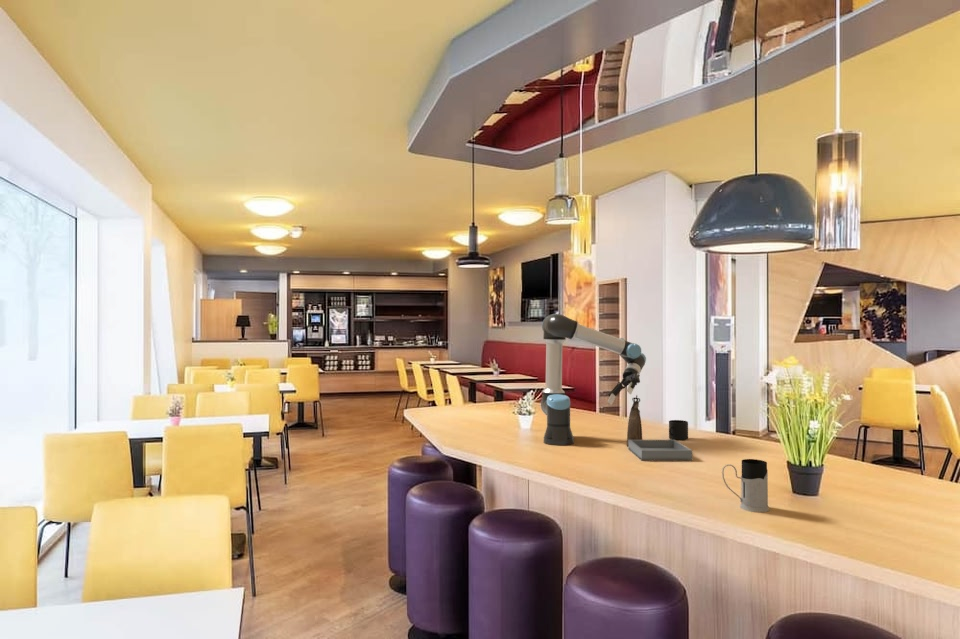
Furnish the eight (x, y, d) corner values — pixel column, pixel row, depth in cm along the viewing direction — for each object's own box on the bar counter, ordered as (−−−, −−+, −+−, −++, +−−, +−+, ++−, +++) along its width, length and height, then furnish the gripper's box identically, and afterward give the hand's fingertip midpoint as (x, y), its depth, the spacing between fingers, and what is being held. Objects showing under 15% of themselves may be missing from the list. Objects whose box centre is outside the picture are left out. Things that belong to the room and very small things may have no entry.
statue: (643, 447, 290) (640, 395, 290) (627, 447, 291) (624, 396, 292) (642, 444, 298) (639, 393, 299) (626, 444, 300) (624, 394, 301)
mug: (661, 439, 312) (661, 421, 312) (677, 436, 319) (676, 419, 319) (676, 441, 304) (676, 424, 305) (692, 439, 311) (691, 421, 311)
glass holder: (773, 512, 190) (772, 465, 190) (725, 510, 193) (725, 463, 193) (764, 504, 199) (764, 459, 199) (719, 502, 201) (719, 457, 201)
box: (641, 460, 263) (641, 450, 263) (628, 449, 287) (628, 439, 287) (692, 460, 263) (692, 450, 263) (674, 449, 287) (674, 439, 287)
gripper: (654, 368, 305) (642, 392, 290) (619, 388, 322) (606, 412, 307) (644, 357, 305) (631, 381, 289) (610, 378, 322) (596, 402, 307)
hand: (619, 397), depth 298 cm, fingers open, 13 cm apart
